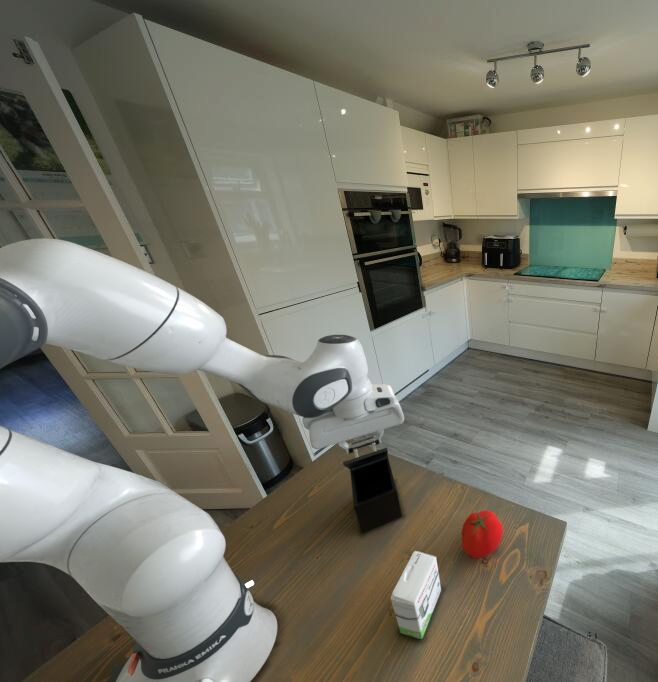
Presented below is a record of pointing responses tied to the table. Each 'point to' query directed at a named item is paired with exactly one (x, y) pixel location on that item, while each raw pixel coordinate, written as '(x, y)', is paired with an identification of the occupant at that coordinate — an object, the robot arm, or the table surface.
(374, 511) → the trash bin
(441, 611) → the table surface
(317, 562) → the table surface
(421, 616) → the ink box
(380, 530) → the table surface
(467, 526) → the tomato
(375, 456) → the bin lid
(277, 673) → the table surface
